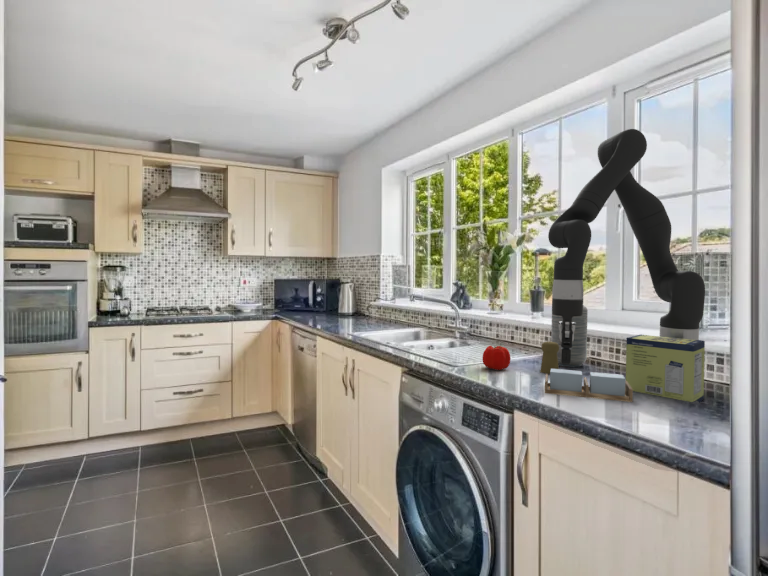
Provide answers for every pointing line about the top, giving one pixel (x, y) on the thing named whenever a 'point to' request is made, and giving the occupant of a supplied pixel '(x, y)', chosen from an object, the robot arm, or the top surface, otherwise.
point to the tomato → (496, 358)
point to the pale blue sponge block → (607, 384)
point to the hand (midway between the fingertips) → (565, 363)
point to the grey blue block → (566, 380)
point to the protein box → (666, 366)
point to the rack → (586, 393)
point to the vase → (577, 344)
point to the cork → (549, 356)
